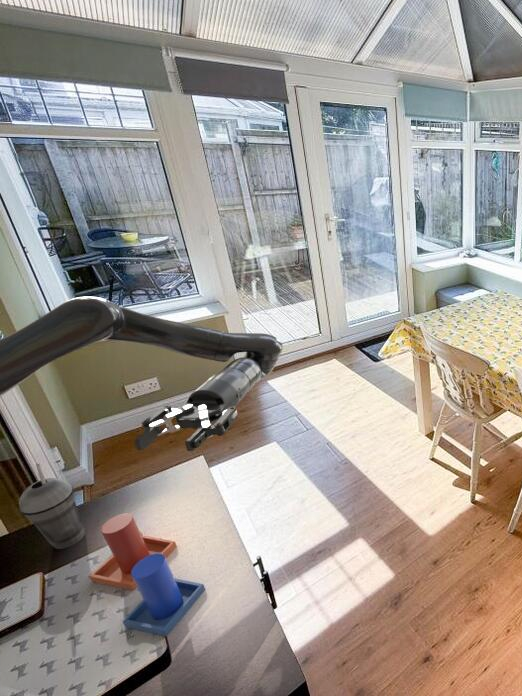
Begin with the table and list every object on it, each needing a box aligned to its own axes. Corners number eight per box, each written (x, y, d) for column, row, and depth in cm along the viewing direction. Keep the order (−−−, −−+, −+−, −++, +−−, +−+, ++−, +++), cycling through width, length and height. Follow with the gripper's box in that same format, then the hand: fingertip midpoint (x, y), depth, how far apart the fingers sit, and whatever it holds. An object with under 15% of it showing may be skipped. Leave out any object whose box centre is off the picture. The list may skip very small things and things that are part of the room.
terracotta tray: (92, 583, 77) (88, 576, 76) (139, 540, 85) (136, 533, 84) (134, 592, 76) (131, 585, 75) (177, 548, 84) (174, 541, 83)
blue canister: (147, 609, 73) (127, 568, 68) (177, 589, 76) (159, 548, 72) (157, 625, 70) (136, 583, 66) (187, 603, 74) (169, 562, 69)
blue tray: (126, 629, 70) (122, 621, 69) (168, 583, 77) (165, 576, 77) (167, 638, 69) (163, 631, 68) (206, 591, 76) (203, 583, 76)
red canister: (115, 572, 78) (94, 531, 74) (137, 551, 82) (118, 511, 78) (135, 576, 78) (115, 535, 73) (156, 554, 82) (138, 515, 77)
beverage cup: (56, 531, 86) (14, 457, 78) (101, 520, 89) (64, 448, 81) (36, 562, 80) (-12, 485, 72) (85, 549, 83) (44, 474, 75)
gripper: (181, 377, 84) (113, 428, 70) (251, 378, 85) (199, 430, 70) (191, 407, 87) (128, 462, 73) (259, 408, 88) (210, 464, 73)
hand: (163, 446), depth 71 cm, fingers open, 8 cm apart
